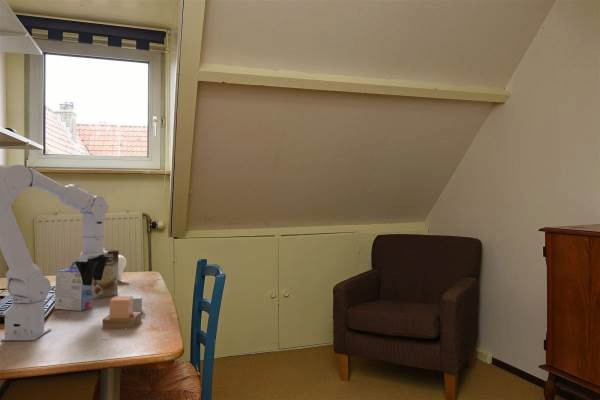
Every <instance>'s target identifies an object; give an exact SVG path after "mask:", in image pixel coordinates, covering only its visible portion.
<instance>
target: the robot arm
mask: <svg viewBox="0 0 600 400" xmlns="http://www.w3.org/2000/svg"><path fill="white" fill-rule="evenodd" d="M27 188H35V189H38V190H40V191H43V192H45V193H48V194H50V195H54V196H55V197H56V196H57V197H58V200H59V202H60V203H61V204H64V205H65V206H68V207H70V208H72V209H75V210H77V211H79V213H80V214H81V215H82V241H81V242H82V251H81V253H80V254H78V256H79V257H78V260H75V261H74V262H75V267H77V268H78V269H79V272H80V274H81V278H82V282H83V285H87V286H90V285H92V281H93V279H94V280H102V277H103V272H104V268H105V266H106V263H107V261H108V259H109V256H104V255H105V254H108V251H105V250H106V248H105V247H104V245H105V244H104V240H105V239H104V238H105V237H104V236H105V228H104V227H105V220H106V214H107V213H108V212H109V209H110V206H109V205H108V203H107V201H106V198H104V197H103V196H100V195H94V194H93V192H92V191H90V190H89V191H86V190H85V189H82V188H80V185H78V184H76V183H73V184H67V185H63V184H61V183H59V182H58V181H55V180H54V179H52V178H50V177H48V176H46V175H44V174H42V173H40V172H39V171H37V170H35V169H34V168H31V167H27V166H25V165H23V164H12V165H11V164H10V165H9V164H7V165H4V164H3V165H2V164H0V251H1V253H2V256H3V258H4V260H5V263H6V265H7V267H8V270H7V271H6V273H5V277H6V280H7V282H6V290H7V292H8V293H9V294H10V296H11V300H12V303H11V306H10V307H9V308H8V309H7V311H6V312H5V315H4V336H3V337H1V338H0V341H34V340H36V339H38V338H39V337H41V336H43V335H44V334H46V333H48V332H49V331H51V330H52V327H45V304H46V303H45V300H46V297H47V296H48V295H49V294H50V292H51V287H52V286H51V281H50V280H49V278H48V277H47V276H45V275H44V274H43V272H42V271H43V270H42V269H40V268H39V266H38V265H36V263H34V262H33V259H32V256H31V255H30V251H29V249H28V246H27V244H26V241H25V239H24V236H23V234H22V232H21V229H20V227H19V224H18V222H17V218H16V216H15V214H14V212H13V209H12V204H13V203H14V201H15V200H16V199H17V197H19V195H21V194H22V193H23V192H24V191H25V190H27Z"/></svg>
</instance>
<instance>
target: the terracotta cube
mask: <svg viewBox="0 0 600 400" xmlns="http://www.w3.org/2000/svg"><path fill="white" fill-rule="evenodd" d="M109 314H110V318H129V317H130V316H131V315H132V314H133V296H127V295H120V296H119V295H114V296H112V298H111V299H110V300H109Z"/></svg>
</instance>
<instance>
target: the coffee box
mask: <svg viewBox="0 0 600 400" xmlns="http://www.w3.org/2000/svg"><path fill="white" fill-rule="evenodd" d="M105 251H108V254H105V255H104V256H109V259H108V261H107V263H106V266H105V268H104V272H103V277H102V280H94V279H93V281H92V300H93V299H95V300H96V299H102V298H107V297H115V296H119V293H118V290H119V289H118V288H119V287H118V286H119V284H118V283H119V282H118V255H120V254H119V253H120V252H119V251H120V250H115V249H105Z"/></svg>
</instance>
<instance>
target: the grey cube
mask: <svg viewBox="0 0 600 400" xmlns="http://www.w3.org/2000/svg"><path fill="white" fill-rule="evenodd" d="M126 296H133V312H141V315H142V314H143V313H142V312H143V295H142V294H131V295H130V294H129V295H127V294H126Z"/></svg>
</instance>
